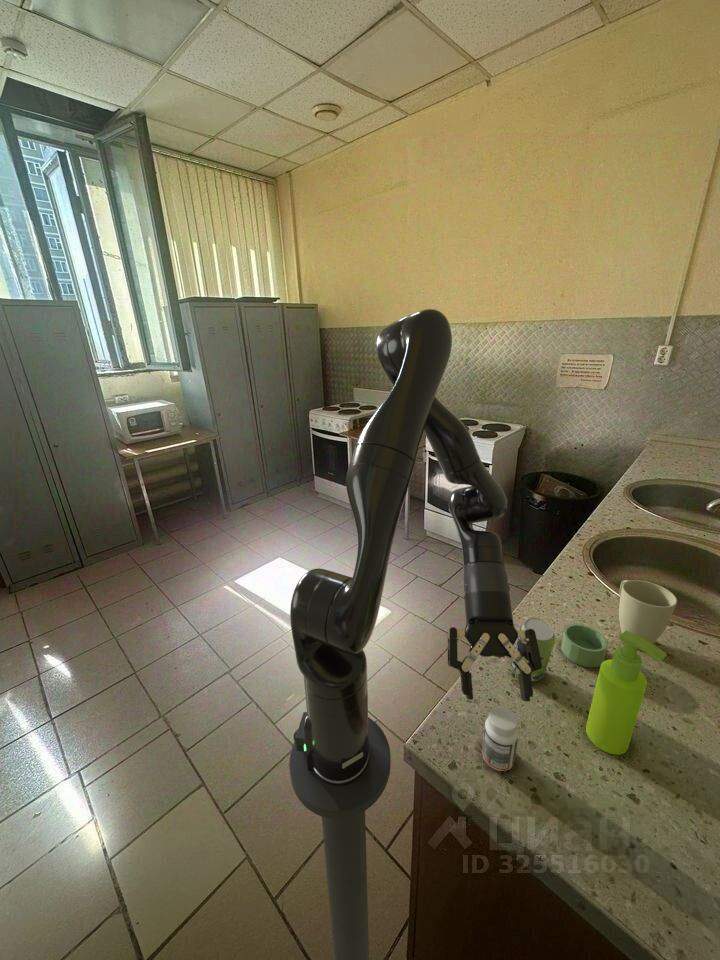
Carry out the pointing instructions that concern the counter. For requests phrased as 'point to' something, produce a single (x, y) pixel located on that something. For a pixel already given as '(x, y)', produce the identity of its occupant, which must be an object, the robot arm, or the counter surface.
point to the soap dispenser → (619, 695)
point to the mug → (645, 608)
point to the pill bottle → (500, 738)
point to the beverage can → (544, 644)
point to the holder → (584, 645)
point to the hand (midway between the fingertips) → (497, 700)
